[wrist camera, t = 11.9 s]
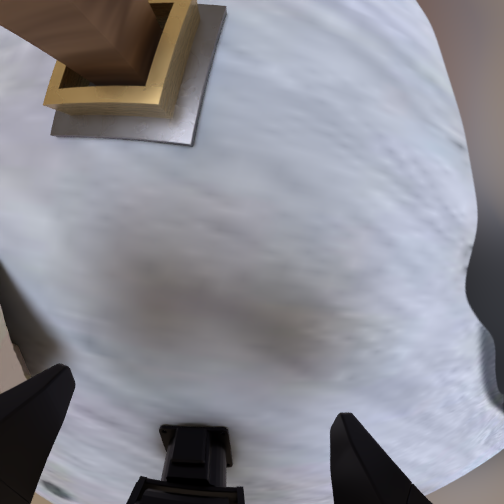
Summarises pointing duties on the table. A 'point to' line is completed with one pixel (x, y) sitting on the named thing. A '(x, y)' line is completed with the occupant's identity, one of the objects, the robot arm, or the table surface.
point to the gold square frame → (157, 86)
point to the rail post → (90, 36)
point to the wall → (10, 360)
